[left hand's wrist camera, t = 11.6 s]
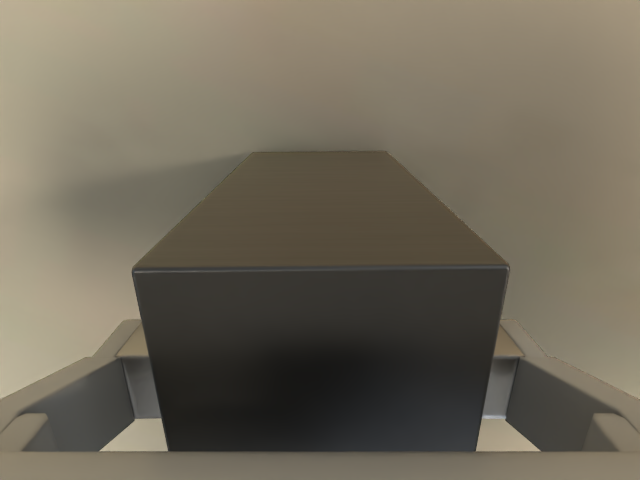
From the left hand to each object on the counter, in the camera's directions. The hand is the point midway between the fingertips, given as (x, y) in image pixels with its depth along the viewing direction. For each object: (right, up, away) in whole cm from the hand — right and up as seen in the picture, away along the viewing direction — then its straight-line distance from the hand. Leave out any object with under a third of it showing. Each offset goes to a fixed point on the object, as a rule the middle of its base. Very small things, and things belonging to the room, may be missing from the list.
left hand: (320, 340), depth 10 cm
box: (0, -6, +11) cm, 13 cm away
